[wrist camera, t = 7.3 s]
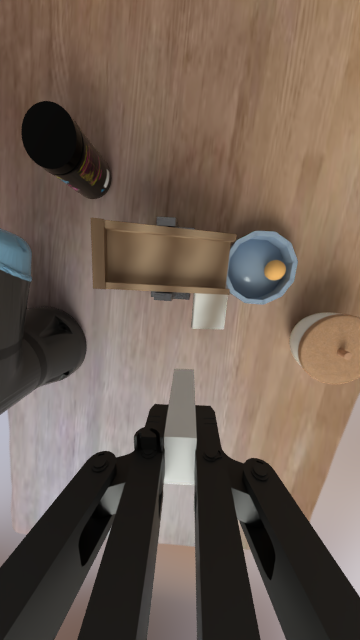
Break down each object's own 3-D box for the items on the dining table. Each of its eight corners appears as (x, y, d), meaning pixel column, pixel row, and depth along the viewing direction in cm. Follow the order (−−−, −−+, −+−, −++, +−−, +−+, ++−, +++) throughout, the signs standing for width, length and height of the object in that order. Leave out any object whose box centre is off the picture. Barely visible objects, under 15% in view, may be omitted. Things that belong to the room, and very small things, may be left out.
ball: (285, 281, 31) (282, 280, 34) (289, 259, 30) (285, 261, 33) (263, 279, 32) (262, 279, 34) (266, 258, 31) (265, 260, 34)
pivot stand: (151, 296, 37) (137, 303, 28) (153, 226, 34) (139, 209, 25) (189, 299, 36) (187, 307, 28) (194, 228, 34) (194, 212, 25)
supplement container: (75, 151, 33) (20, 96, 22) (115, 158, 32) (78, 105, 22) (73, 197, 34) (21, 164, 24) (111, 203, 34) (75, 173, 24)
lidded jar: (309, 294, 35) (350, 301, 26) (354, 331, 36) (409, 350, 26) (267, 340, 37) (290, 361, 28) (309, 373, 38) (346, 404, 29)
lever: (99, 325, 29) (94, 331, 26) (96, 223, 25) (90, 217, 23) (221, 327, 32) (228, 333, 29) (231, 237, 29) (241, 234, 26)
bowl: (218, 298, 36) (220, 301, 33) (225, 233, 34) (228, 229, 30) (280, 303, 35) (289, 306, 32) (292, 237, 33) (303, 233, 29)
